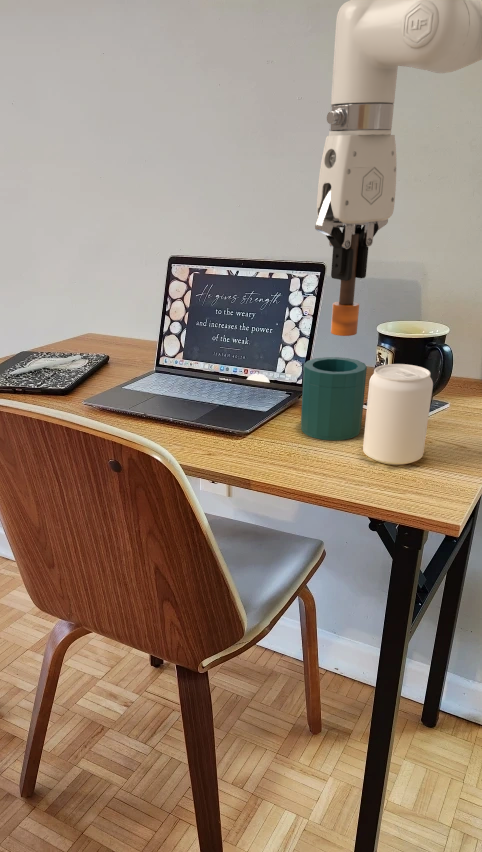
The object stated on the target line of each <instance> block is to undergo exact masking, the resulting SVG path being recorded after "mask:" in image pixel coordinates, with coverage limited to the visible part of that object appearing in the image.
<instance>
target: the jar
mask: <svg viewBox="0 0 482 852" xmlns="http://www.w3.org/2000/svg"><path fill="white" fill-rule="evenodd" d="M367 371H368V366H367V365H366V363H365V362H362V361H360V360H358V359H353V358H350V357H341V356H340V357H339V356H323V357H316V358H311V359H309V360H306V361H305V362H304V363H303V373H302V375H303V377H302V392H301V393H302V394H301V410H300V411H301V413H300V430H301V432H302V433H303V434H305V435H306V436H308V437H310V438H312V439H317V440H323V441H344V440H345V441H346V440H350V439H353V438H355V437H357V436H359V435H360V434H361V429H362V423H363V412H364V403H365V392H366V381H367Z"/></svg>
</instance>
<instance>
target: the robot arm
mask: <svg viewBox="0 0 482 852" xmlns="http://www.w3.org/2000/svg"><path fill="white" fill-rule="evenodd" d="M334 33H335V34H334V36H335V37H334V49H333V52H334V53H333V62H332V63H333V66H332V81H331V94H330V95H331V97H330V111H328V112H327V115H326V122H327V124H328V125H329V128H328V129H329V131H328V135H326V136H325V137H326V138H325V141H324V145H323V150H322V156H321V161H320V167H319V174H318V183H317V194H316V215H317V219H316V220H315V221H316V222H315V225H314V229H315V231H317V232H319V233H320V234H323V235H325V237H326V238H327V240H328V243H329V247H330V248H332V255H331V256H332V258H331V259H332V260H331V269H330V270H331V272H330V277H331V279H333V280H339V281H340V280H345V281H348V280H350V279H351V277H352V265H353V253H354V251H353V249H351V248H350V246H351V237H352V233H358V234H359V245H358V257H357V269H356V279H365V278H366V277H367V268H368V258H369V257H368V256H369V247H371V246H372V245H373V243H374V237H375V236H376V234H377V233H378V231H380V230H381V229H383V227H385V226H387V224H388V223H389V218H391V217H392V216H393V214H394V210H395V203H396V202H395V201H396V191H397V189H396V188H397V187H396V186H397V143H396V136H395V134H392V128H393V118H394V117H393V116H394V107H395V98H396V89H397V80H398V79H397V78H398V67H406V68H414V69H417V70H423V71H428V72H430V73H435V74H447V73H452V72H456V71H458V70H461V69H464V68H466V67H468V66H470V65H473V64H475V63H477V62H479V61H482V0H348V1H345V2H344V3H343V4H342V5H341V6H339V9H338V11H337V14H336V21H335V31H334ZM341 228H342V230H341Z"/></svg>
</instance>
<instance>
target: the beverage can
mask: <svg viewBox="0 0 482 852" xmlns="http://www.w3.org/2000/svg"><path fill="white" fill-rule="evenodd" d="M433 387H434V382H433V378H432V377H431V370H429V369H427V368H425V367H423V366H418V365H413V364H408V363H407V364H405V363H389V364H382V365H379V366H376V367H375V368H374V370H373V374H372V375H371V376H370V379H369V383H368V393H367V402H366V412H365V413H366V414H365V422H364V423H365V424H364V434H363V443H362V444H363V445H362V451H363V453H364V454H365V455H366V456H367V457H368V458H370V459H372V460H374V461H376V462H378V463H382V464H385V465H393V466H402V465H407V464H411V463H415V462H417V461H419V460H420V459H422V458H423V456H424V452H425V445H426V439H427V431H428V423H429V415H430V410H431V401H432V395H433Z"/></svg>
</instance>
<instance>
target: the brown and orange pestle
mask: <svg viewBox="0 0 482 852" xmlns="http://www.w3.org/2000/svg"><path fill="white" fill-rule="evenodd" d="M358 245H359V234H358V233H352V237H351V246H350V248H351V249H353V251H354V253H353V265H352V277H351V279H350V280H348V281H345V280H339V292H338V293H339V295H338V301H335V302H332V306H331V307H332V309H331V322H330V334H331V335H334V336H338V337H339V336H341V337H351V336H356V335H357V334H358V326H359V314H360V313H359V312H360V303H358V302H356V301H355V291H356V279H357V278H356V269H357V257H358Z"/></svg>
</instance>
